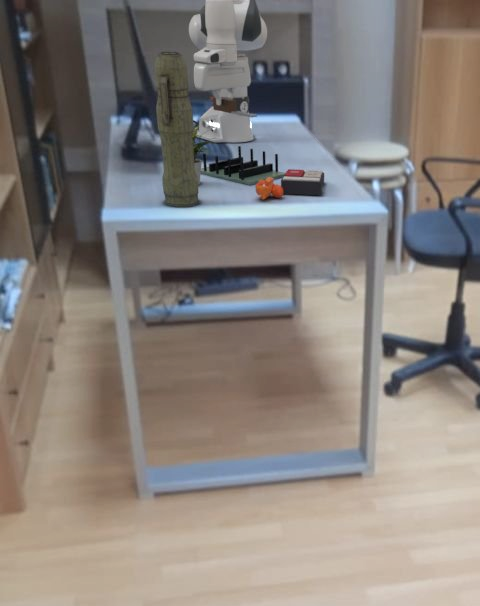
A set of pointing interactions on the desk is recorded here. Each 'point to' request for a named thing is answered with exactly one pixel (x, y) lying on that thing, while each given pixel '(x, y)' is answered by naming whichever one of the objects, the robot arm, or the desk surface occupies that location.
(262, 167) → the rack
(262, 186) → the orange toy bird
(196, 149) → the house plant
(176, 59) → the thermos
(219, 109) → the knife
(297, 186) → the calculator
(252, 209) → the desk surface
